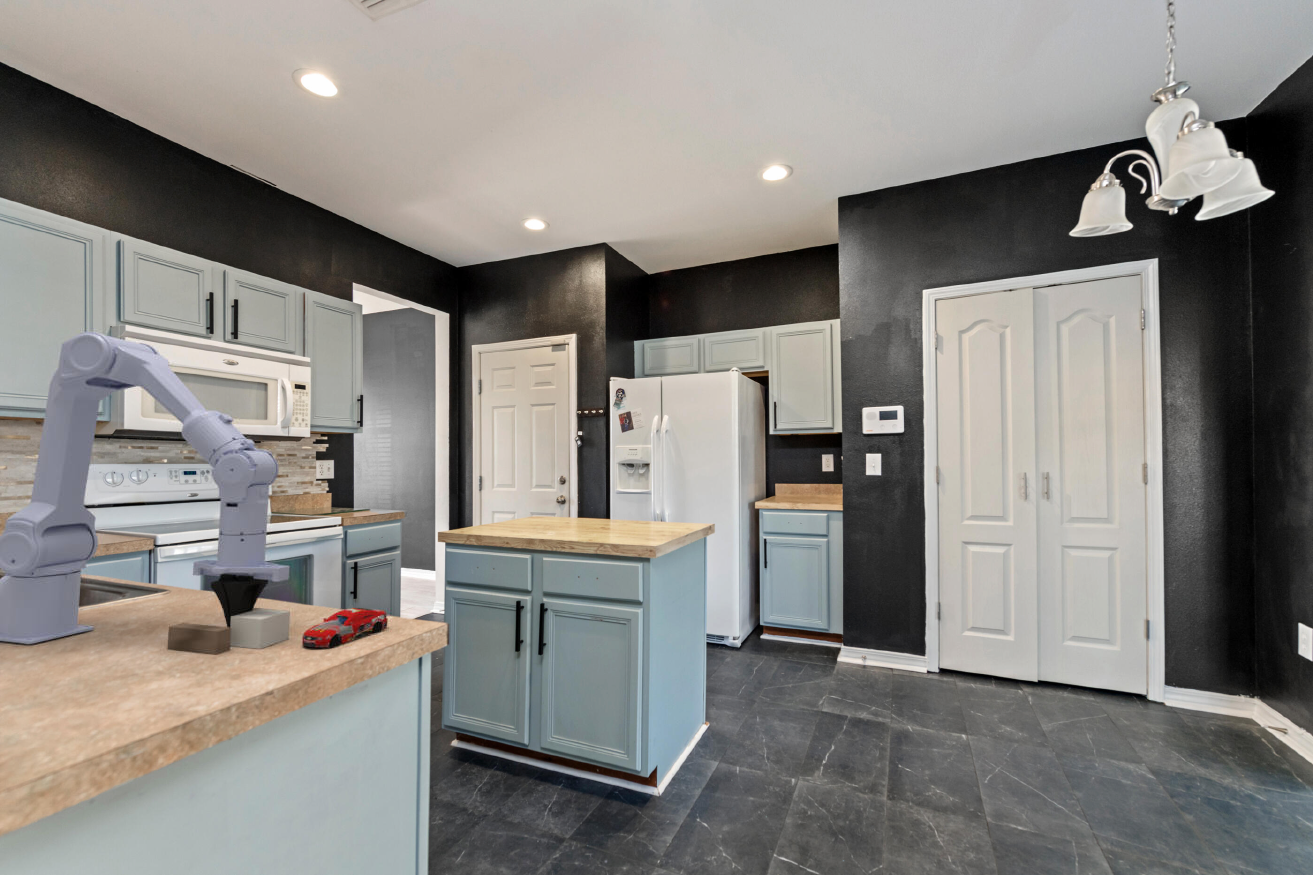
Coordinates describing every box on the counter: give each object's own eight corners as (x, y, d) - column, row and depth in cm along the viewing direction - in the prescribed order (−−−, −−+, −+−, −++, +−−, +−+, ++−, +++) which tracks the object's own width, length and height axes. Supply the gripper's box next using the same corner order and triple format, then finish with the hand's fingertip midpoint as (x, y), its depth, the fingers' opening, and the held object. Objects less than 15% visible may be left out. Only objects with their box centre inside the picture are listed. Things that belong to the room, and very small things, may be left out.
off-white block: (229, 645, 85) (230, 616, 85) (259, 635, 89) (260, 608, 90) (259, 648, 84) (261, 619, 84) (288, 638, 88) (290, 610, 89)
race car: (321, 654, 83) (322, 624, 83) (292, 649, 85) (293, 620, 85) (393, 629, 95) (394, 604, 96) (367, 625, 97) (368, 600, 97)
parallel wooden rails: (167, 648, 82) (168, 626, 83) (244, 626, 94) (245, 606, 94) (216, 654, 81) (217, 631, 81) (288, 630, 92) (289, 610, 93)
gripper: (174, 533, 86) (168, 631, 85) (262, 538, 83) (256, 640, 82) (220, 528, 92) (215, 619, 92) (302, 533, 89) (297, 627, 89)
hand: (237, 628), depth 87 cm, fingers closed
